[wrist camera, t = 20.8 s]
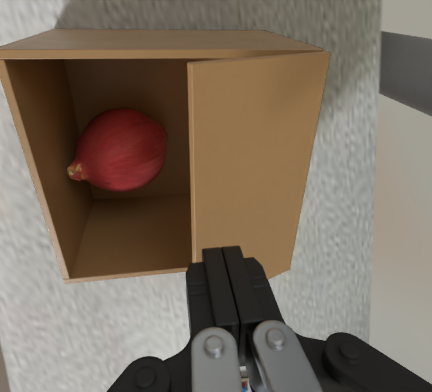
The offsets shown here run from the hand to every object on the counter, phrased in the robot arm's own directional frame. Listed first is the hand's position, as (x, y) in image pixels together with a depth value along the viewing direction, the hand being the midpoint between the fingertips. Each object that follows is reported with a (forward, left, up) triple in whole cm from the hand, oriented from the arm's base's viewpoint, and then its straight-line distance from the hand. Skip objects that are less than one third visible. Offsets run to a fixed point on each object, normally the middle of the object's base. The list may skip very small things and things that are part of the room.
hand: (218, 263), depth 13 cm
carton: (+1, 0, -16) cm, 16 cm away
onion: (+2, 0, -15) cm, 15 cm away
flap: (-3, 0, -5) cm, 5 cm away
